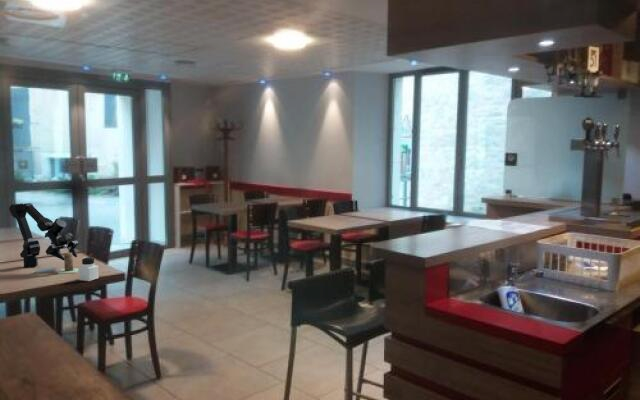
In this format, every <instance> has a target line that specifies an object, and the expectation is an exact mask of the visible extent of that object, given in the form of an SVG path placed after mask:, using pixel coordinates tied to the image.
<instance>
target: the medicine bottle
mask: <svg viewBox="0 0 640 400" xmlns="http://www.w3.org/2000/svg"><path fill="white" fill-rule="evenodd" d="M77 268H78V270H79V271H78V281H84V282H91V281H93V280H96V279H99V265H96V264H95V258H94V257H92V256H85V257H83V258H81V266H79V267H77Z"/></svg>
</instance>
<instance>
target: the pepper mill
mask: <svg viewBox="0 0 640 400" xmlns="http://www.w3.org/2000/svg"><path fill="white" fill-rule="evenodd" d="M63 257H64V258H65V260H63V262H64V269H65V271H73V268H74V256H73V255H72V253H70V252H64V255H63Z"/></svg>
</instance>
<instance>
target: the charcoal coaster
mask: <svg viewBox="0 0 640 400" xmlns="http://www.w3.org/2000/svg"><path fill="white" fill-rule="evenodd" d="M57 269H58V267H40V268H39V267H38V268H37V269H36V270H34V272H33V274H44V273H45V274H46V273H54V272H55V271H56V270H57Z"/></svg>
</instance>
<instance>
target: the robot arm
mask: <svg viewBox="0 0 640 400" xmlns="http://www.w3.org/2000/svg"><path fill="white" fill-rule="evenodd" d="M8 210H9V212H10V215H11V216H12V217H13V218H14V219H15V220H16V222H17V225H18V228H19V230H20V234H21V236H22V239H23V245H22V249H23V250H22V251H21V252H20V253H19V256H20V257H21V258H23V266H22V268H36V267H37V266H39V261H38V257H37V256H39V255H40V252H41V245H40V241H39V240H36V239H34V236H33V234H32V232H31V229H30V226H29V222H28V219H27V216H26V215H29V216H30V217H31V219H33V220H34V221H35V222H36V226H37V228H38V230H40V231H41V232H45V234H44V238H48V239H49V241H51V242H50V245H49V246H48V247H47V248H46V250H45V254H46V255H47V256H49V255H50V256H53V257H54V258H58V259H60V260H62V261H64V260H65V258H64V255H63V253H62V252H61V250H64V249H66V250H68V253H72V256H73V258H78V255H77V250H76V247H77V246H78V245H79V244H80V242H79V241H78V240H72V239H73V238H74V235H73V234H72V232H68V233H66V234H63V235H60V234H61V233H62V232H63V231H64V229H65V228H66V226H67V222H66V221H65V220H63V219H61V218H56V219H55V220H52V219H50V218H48V217H46V216H44V215H43V214H42V213H41V212H40V211H38V209H37V208H36V207H35V206H34V204H33V203H31V202H27V203H12V204H11V205H10V206H9V207H8ZM46 231H47V232H46ZM70 240H71V241H70Z"/></svg>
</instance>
